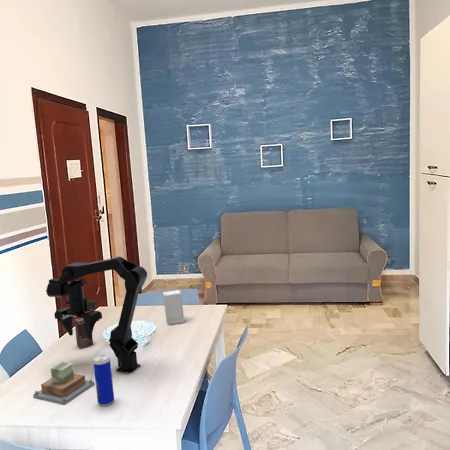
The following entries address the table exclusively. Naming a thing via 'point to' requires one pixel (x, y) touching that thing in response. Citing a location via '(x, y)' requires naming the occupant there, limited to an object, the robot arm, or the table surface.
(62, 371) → the block
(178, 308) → the skincare box
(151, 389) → the table surface
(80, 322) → the box
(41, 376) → the table surface
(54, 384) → the base brick
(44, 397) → the baseplate
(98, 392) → the beverage can
